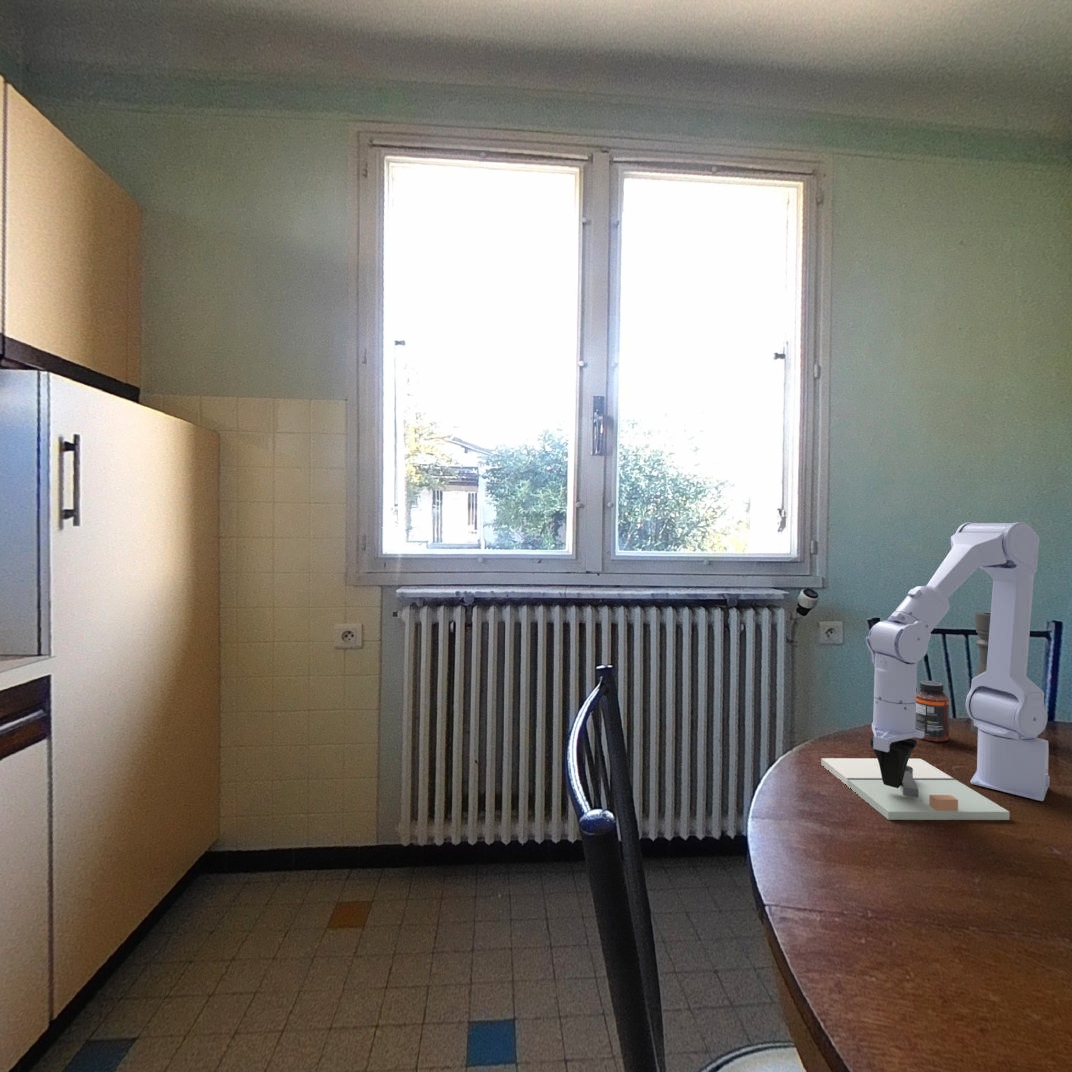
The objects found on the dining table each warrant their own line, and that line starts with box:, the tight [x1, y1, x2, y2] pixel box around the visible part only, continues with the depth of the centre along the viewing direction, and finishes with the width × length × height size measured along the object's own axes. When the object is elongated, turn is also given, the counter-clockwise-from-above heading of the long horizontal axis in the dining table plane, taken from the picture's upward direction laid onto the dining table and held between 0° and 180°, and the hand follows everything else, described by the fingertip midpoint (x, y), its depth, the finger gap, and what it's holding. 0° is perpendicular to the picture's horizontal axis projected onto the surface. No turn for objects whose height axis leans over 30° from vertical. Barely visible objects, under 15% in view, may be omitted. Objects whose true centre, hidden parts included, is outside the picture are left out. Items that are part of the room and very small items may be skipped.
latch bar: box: [900, 766, 919, 797], centre depth 98 cm, size 11×3×1 cm, turn 157°
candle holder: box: [970, 611, 1009, 735], centre depth 128 cm, size 6×6×25 cm
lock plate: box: [820, 757, 1011, 821], centre depth 100 cm, size 18×20×3 cm
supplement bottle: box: [915, 680, 950, 743], centre depth 125 cm, size 6×6×11 cm
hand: (892, 784), depth 96 cm, fingers closed
